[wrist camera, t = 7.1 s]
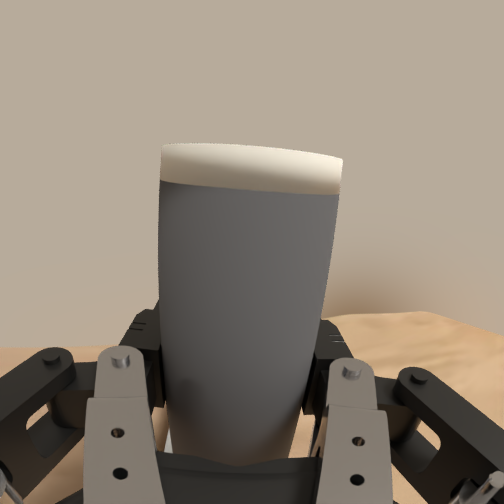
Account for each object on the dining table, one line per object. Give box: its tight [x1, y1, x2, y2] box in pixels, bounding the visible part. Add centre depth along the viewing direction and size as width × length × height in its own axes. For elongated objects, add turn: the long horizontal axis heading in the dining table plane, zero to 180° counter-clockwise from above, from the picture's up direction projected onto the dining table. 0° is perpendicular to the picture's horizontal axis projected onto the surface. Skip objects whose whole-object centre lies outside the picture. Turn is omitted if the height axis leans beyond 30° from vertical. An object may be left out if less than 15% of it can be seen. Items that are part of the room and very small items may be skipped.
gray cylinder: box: [158, 143, 343, 466], centre depth 10 cm, size 4×4×14 cm
